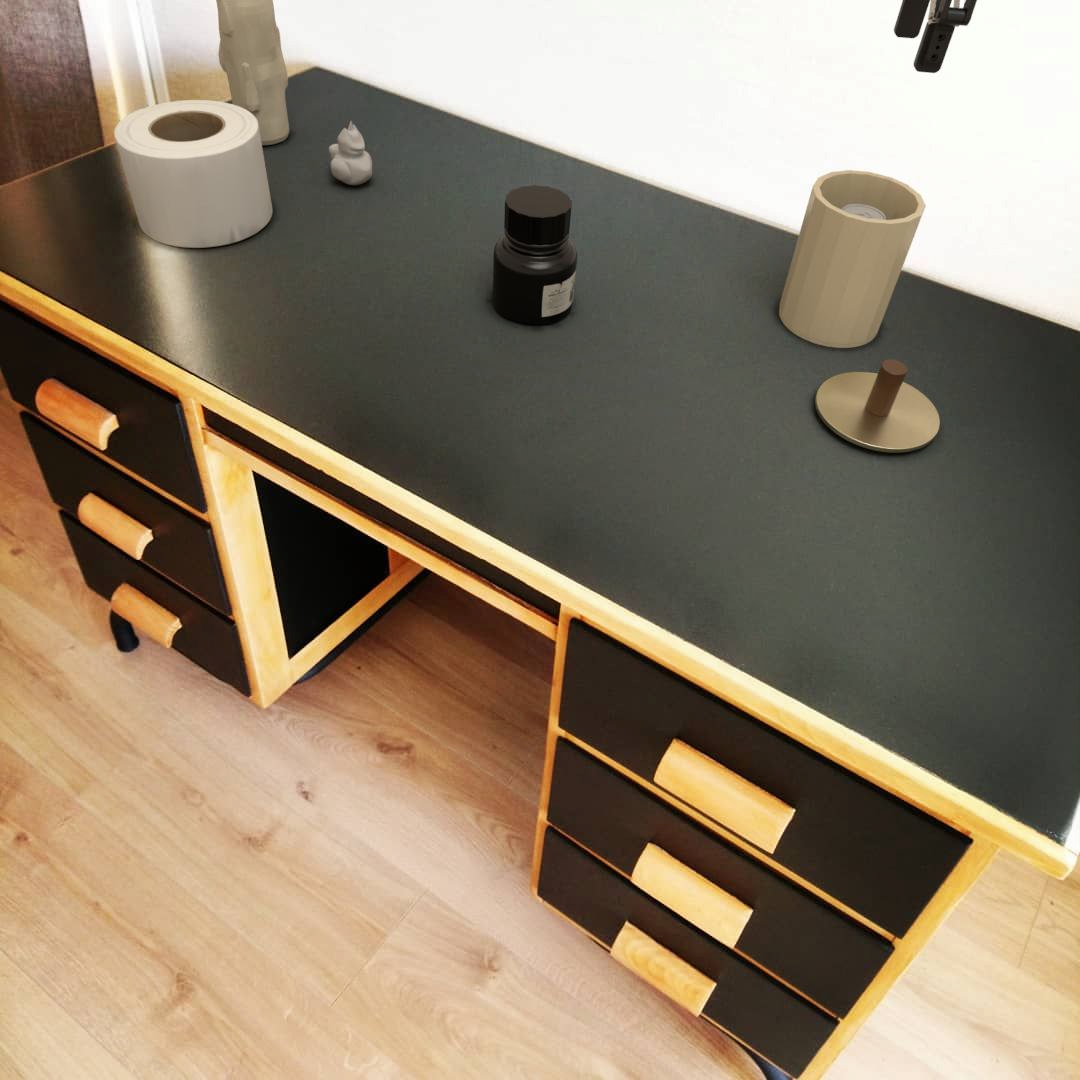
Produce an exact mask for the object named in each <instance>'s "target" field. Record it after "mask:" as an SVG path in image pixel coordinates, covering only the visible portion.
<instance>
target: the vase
mask: <svg viewBox="0 0 1080 1080" xmlns="http://www.w3.org/2000/svg"><path fill="white" fill-rule="evenodd" d="M215 1H216V8H217V17H218V18H217V19H218V20H217V21H218V32H219V45H218V54H217V55H218V61H219V62H218V63H219V65H220V67H221V69H222V71H223V72H224V73H226V76H227V77H226V78H227V82H228V87H229V93H230V98H231V104H233V105H236V106H239V107H242V108H244V109H246V110H247V111H249V112H250V113H252V114H253V115H254V116H255V118H256V119H257V121H258V125H259V131H260V137H261V143H262V146H271V145H276V144H279V143H282V142H284V141H285V140H287V138H288V137H289V134H290V123H289V116H288V109H287V101H286V89H287V88H288V87H289V77H288V71H287V67H286V63H285V62H286V61H285V59H284V55H283V49H282V42H281V32H280V29H279V27H278V26H277V21H276V15H275V5H274V0H215Z"/></svg>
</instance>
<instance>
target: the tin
mask: <svg viewBox="0 0 1080 1080" xmlns="http://www.w3.org/2000/svg"><path fill="white" fill-rule="evenodd" d="M850 204H863V205H868V206H871V207H874V208H876V209H878V210H880V211H881V212H883V214H884V215H885V217H886V220H882V219H870V218H865V217H861V216H857V215H853V214H850V213H847V212H845V211H843V210H841V209H842V208H843V207H844V206H846V205H850ZM925 209H926V203H925V201H924V199H923V197H922V195H921V194H920V193H919V192H917V191H916V189H914V188H913V187H911V185H909V184H907V183H904V182H903V181H901V180H898V179H896V178H893V177H892V176H888V175H883V174H879V173H876V172H871V171H865V170H853V169H846V170H838V171H831V172H828V173H826V174H824V175H821V176H819V177H817V179H816V181H815V182H814V184H813V185H812V189H811V191H810V195H809V198H808V203H807V206H806V209H805V212H804V217H803V218H802V219H803V220H802V224H801V227H800V230H799V234H798V238H797V241H796V245H795V248H794V250H793V251H794V252H793V254H792V259H791V263H790V265H789V269H788V272H787V277H786V280H785V284H784V286H783V290H782V294H781V298H780V302H779V309H778V315H779V318H780V320H781V322H782V324H783V325H784V326H785V328H787V329H788V331H790V332H791V333H793V334H794V335H796V336H797V337H799V338H801V339H803V340H805V341H807V342H810V343H812V344H815V345H819V346H821V347H822V346H823V347H827V348H835V349H850V348H857V347H861V346H864V345H867V344H869V343H870V342H872V341H873V340H874V339H876V336H877V335H878V333H879V330H880V327H881V326H882V325H881V324H882V323H883V320H884V317H885V314H886V313H887V309H888V307H889V304H890V302H891V299H892V297H893V293H894V291H895V289H896V286H897V283H898V280H899V278H900V275H901V272H902V270H903V268H904V265H905V263H906V259H907V257H908V254H909V251H910V249H911V247H912V244H913V241H914V239H915V235H916V234H917V230H918V228H919V225H920V222H921V219H922V217H923V214H924V211H925Z"/></svg>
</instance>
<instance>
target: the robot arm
mask: <svg viewBox="0 0 1080 1080" xmlns="http://www.w3.org/2000/svg"><path fill="white" fill-rule="evenodd" d="M952 1H953V6H951V4H952ZM977 1H978V0H902V1H901V5H900V8H899V11H898V15H897V18H896V21H895V25H894V28H893V33H894V35H895V36H896V37H897V38H902V39H903V38H904V39H915V38H918V36H919V35H920V32H921V29H922V26H923V23H924V21H925V17H926V13H927V11H928V10H929V11H928V16H927V21H926V24H925V27H924V31H923V33H922V36H921V40H920V43H919V45H918V48H917V51H916V55H915V57H914V60H913V67H914V69H915V71H916V72H918V73H929V74H936V73H938V72H940V70H941V68H942V66H943V63H944V60H945V57H946V55H947V52H948V48H949V45H950V43H951V40H952V37H953V34H954V32H955V29H956V28H958V27H960V26H963V27H967V26H969V23H970V22H971V20H972V16H973V13H974V10H975V7H976V5H977ZM928 7H929V9H928Z"/></svg>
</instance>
